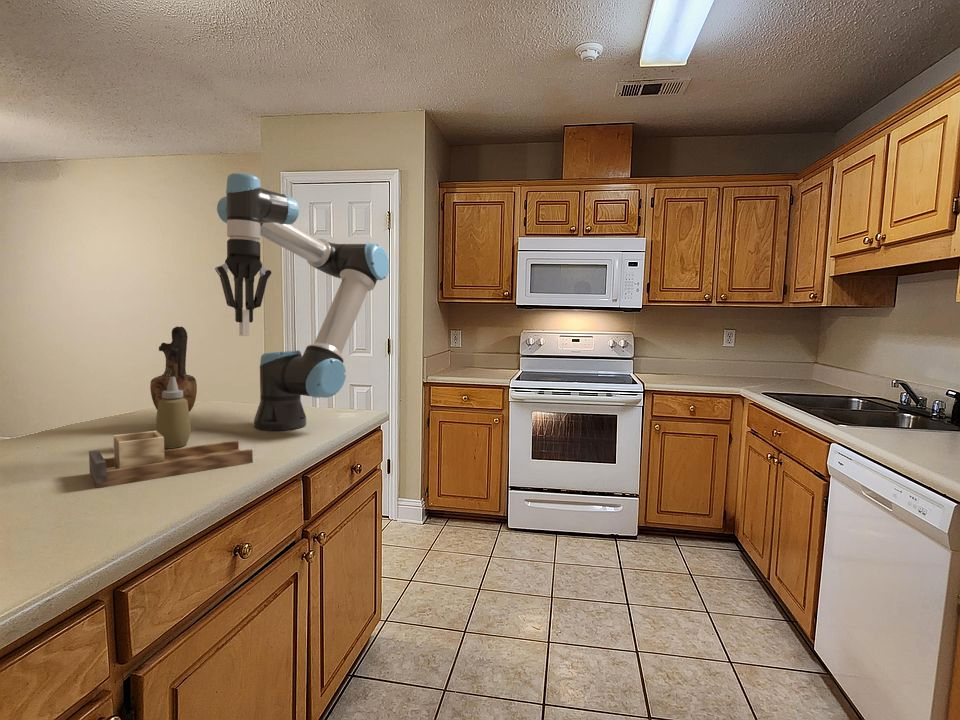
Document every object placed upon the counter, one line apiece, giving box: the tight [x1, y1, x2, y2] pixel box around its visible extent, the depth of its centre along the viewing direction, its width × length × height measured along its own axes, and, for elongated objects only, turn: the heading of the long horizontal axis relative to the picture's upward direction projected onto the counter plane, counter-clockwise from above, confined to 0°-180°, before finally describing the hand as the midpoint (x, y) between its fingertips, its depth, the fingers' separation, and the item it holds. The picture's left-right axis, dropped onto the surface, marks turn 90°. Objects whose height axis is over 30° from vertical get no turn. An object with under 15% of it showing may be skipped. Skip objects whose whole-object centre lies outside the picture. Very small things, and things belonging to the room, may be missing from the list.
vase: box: [149, 326, 198, 413], centre depth 152 cm, size 12×12×30 cm
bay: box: [88, 440, 254, 489], centre depth 117 cm, size 30×11×5 cm, turn 133°
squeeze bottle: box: [154, 377, 192, 449], centre depth 134 cm, size 8×8×18 cm
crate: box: [112, 430, 165, 469], centre depth 113 cm, size 8×7×7 cm
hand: (244, 335), depth 131 cm, fingers closed
